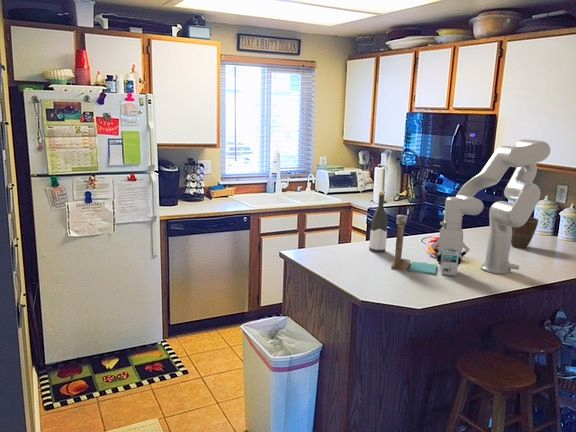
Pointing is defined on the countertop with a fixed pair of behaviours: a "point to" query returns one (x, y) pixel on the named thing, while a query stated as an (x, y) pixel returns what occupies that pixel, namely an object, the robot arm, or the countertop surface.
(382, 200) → the wine bottle
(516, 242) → the plant pot
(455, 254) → the light bulb box
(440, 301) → the countertop surface
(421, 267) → the mat
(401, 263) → the wooden stand
